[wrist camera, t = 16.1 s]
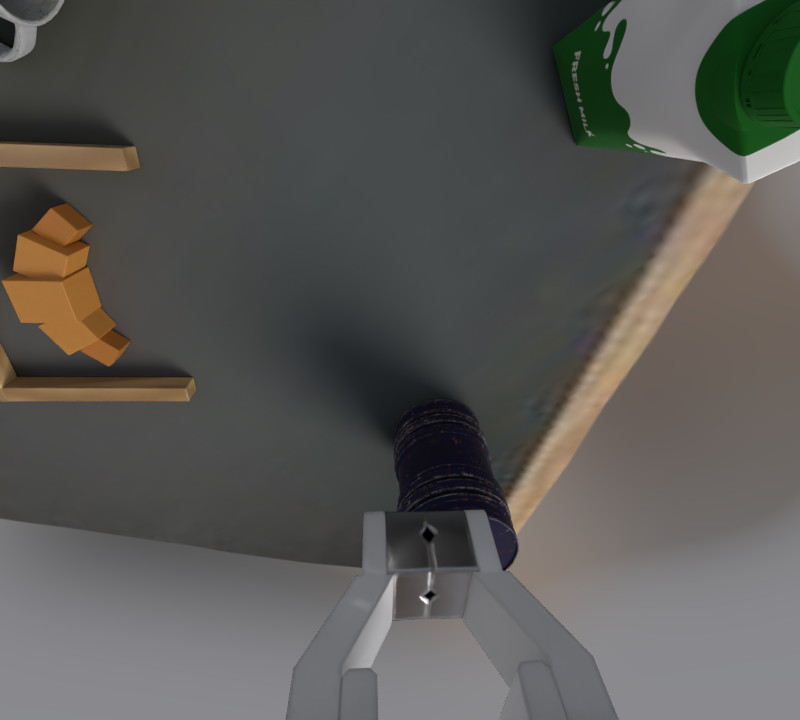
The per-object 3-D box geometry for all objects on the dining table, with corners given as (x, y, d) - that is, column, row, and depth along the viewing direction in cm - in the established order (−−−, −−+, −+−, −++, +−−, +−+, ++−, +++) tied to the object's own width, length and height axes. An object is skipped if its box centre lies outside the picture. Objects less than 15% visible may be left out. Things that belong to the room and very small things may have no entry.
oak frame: (-126, 136, 30) (-157, 137, 28) (135, 145, 31) (121, 147, 29) (8, 389, 41) (-8, 401, 39) (196, 389, 42) (189, 401, 41)
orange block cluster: (6, 201, 33) (-32, 210, 30) (85, 203, 33) (55, 213, 30) (71, 355, 40) (45, 376, 37) (135, 356, 40) (115, 376, 37)
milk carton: (535, 39, 29) (767, -66, 12) (666, -37, 28) (1154, -283, 10) (567, 162, 33) (773, 216, 16) (683, 103, 32) (1049, 94, 15)
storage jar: (382, 457, 48) (385, 582, 36) (407, 389, 44) (421, 505, 31) (461, 472, 50) (492, 595, 38) (494, 409, 46) (541, 525, 33)
